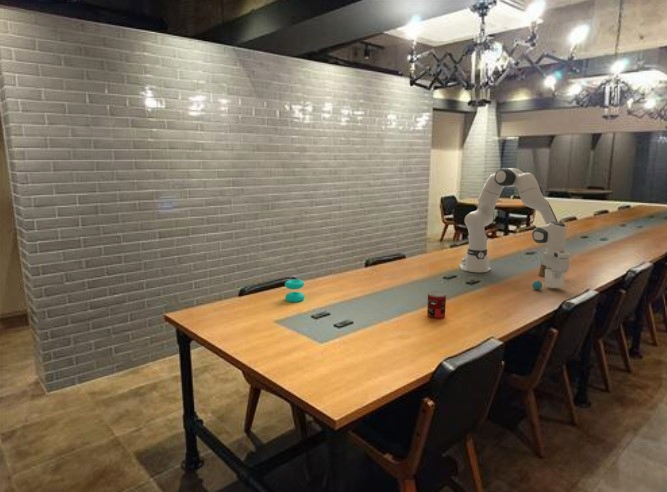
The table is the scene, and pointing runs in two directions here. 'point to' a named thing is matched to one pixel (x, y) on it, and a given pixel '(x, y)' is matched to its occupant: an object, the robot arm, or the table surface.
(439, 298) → the canned food
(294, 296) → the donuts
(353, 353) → the table surface
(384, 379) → the table surface
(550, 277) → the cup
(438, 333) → the table surface
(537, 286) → the ball
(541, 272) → the wooden mug
